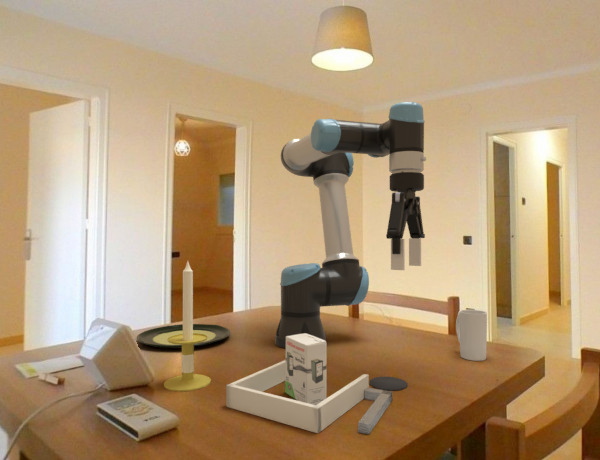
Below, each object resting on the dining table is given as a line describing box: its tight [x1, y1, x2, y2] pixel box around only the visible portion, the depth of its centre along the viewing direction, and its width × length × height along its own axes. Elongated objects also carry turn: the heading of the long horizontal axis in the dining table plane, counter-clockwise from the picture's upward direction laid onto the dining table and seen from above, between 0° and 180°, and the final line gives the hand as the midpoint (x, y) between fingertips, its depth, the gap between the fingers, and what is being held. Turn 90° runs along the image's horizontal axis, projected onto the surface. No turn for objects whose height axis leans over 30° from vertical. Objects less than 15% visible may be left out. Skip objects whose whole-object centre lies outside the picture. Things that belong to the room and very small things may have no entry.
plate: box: [135, 323, 232, 349], centre depth 131 cm, size 28×28×2 cm
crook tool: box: [357, 387, 393, 435], centre depth 77 cm, size 5×16×2 cm, turn 155°
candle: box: [163, 261, 212, 392], centre depth 93 cm, size 10×10×27 cm
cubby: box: [225, 359, 370, 434], centre depth 83 cm, size 20×20×4 cm
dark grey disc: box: [369, 376, 408, 392], centre depth 92 cm, size 8×8×1 cm
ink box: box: [284, 333, 328, 405], centre depth 85 cm, size 9×5×12 cm, turn 31°
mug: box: [455, 309, 488, 362], centre depth 114 cm, size 10×7×12 cm, turn 17°
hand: (406, 267), depth 96 cm, fingers open, 13 cm apart
